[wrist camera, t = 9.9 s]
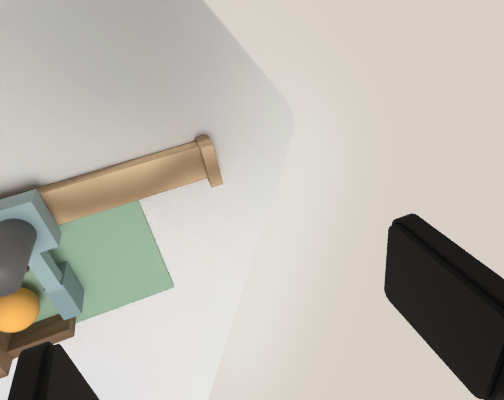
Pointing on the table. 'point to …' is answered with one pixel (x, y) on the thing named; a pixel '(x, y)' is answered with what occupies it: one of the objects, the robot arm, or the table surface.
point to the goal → (33, 337)
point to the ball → (18, 310)
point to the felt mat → (107, 261)
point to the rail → (131, 181)
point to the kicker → (35, 252)
